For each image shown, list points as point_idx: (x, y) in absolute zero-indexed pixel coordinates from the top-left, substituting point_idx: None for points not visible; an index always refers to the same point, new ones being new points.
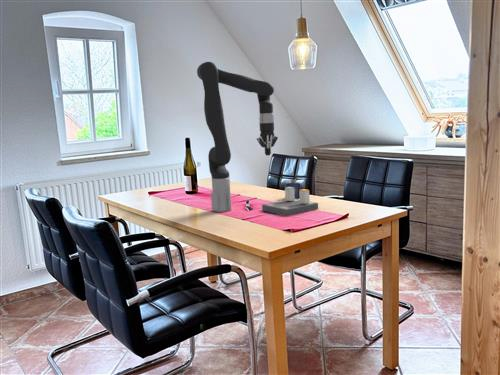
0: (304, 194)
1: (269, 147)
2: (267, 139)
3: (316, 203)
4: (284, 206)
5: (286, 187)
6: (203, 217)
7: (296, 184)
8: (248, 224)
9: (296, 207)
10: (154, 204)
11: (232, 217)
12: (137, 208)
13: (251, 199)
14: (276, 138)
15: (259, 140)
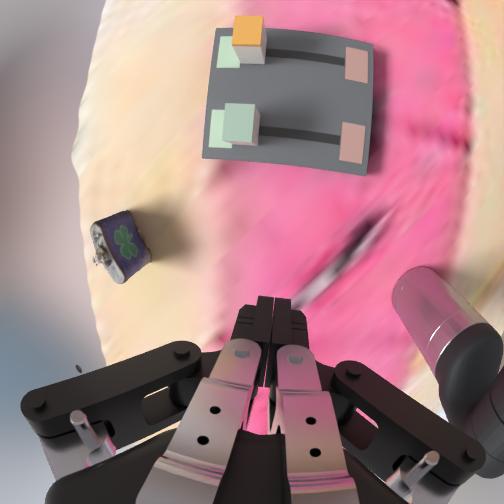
0: (264, 25)
1: (260, 348)
2: (323, 458)
3: (223, 28)
4: (339, 79)
5: (243, 138)
6: (489, 263)
7: (105, 230)
8: (486, 99)
9: (324, 36)
10: None
11: (467, 192)
12: None
13: None
14: (52, 401)
15: (465, 446)
